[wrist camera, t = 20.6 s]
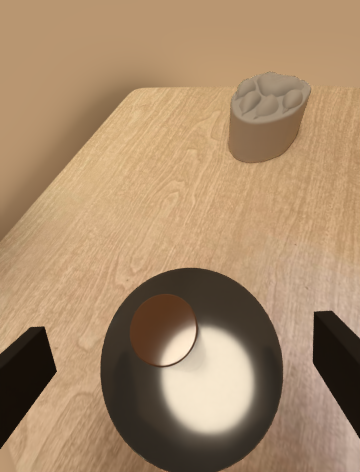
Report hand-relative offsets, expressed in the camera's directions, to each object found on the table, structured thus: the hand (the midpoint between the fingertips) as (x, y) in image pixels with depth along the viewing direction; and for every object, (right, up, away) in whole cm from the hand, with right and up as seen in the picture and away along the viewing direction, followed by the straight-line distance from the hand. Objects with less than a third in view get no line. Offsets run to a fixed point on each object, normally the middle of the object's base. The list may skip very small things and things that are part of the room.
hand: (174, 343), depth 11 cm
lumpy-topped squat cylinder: (+14, +22, +30) cm, 40 cm away
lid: (+1, -3, +5) cm, 6 cm away
